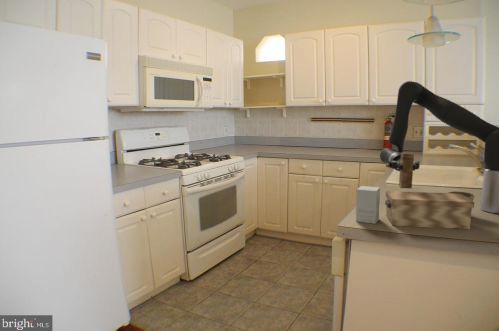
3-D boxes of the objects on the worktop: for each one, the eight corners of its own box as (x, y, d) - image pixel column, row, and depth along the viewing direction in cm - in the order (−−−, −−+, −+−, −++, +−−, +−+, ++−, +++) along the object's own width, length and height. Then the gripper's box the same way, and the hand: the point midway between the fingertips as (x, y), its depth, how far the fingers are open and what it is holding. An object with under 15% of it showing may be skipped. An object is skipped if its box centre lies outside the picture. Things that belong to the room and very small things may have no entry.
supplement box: (379, 219, 140) (380, 187, 138) (375, 224, 134) (376, 191, 132) (360, 216, 144) (361, 185, 142) (355, 221, 137) (356, 189, 135)
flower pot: (460, 219, 139) (462, 197, 137) (440, 213, 148) (442, 192, 146) (479, 217, 141) (481, 195, 140) (459, 211, 150) (461, 190, 149)
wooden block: (409, 186, 149) (411, 152, 147) (411, 188, 145) (414, 153, 143) (398, 185, 150) (400, 152, 148) (401, 188, 146) (403, 153, 144)
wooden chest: (452, 213, 147) (454, 189, 145) (474, 229, 127) (476, 202, 125) (379, 210, 152) (380, 186, 151) (388, 225, 132) (390, 199, 130)
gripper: (382, 152, 161) (389, 158, 144) (416, 153, 158) (428, 158, 142) (381, 169, 162) (388, 176, 145) (415, 170, 159) (426, 177, 143)
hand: (408, 167), depth 144 cm, fingers closed on wooden block, 4 cm apart
